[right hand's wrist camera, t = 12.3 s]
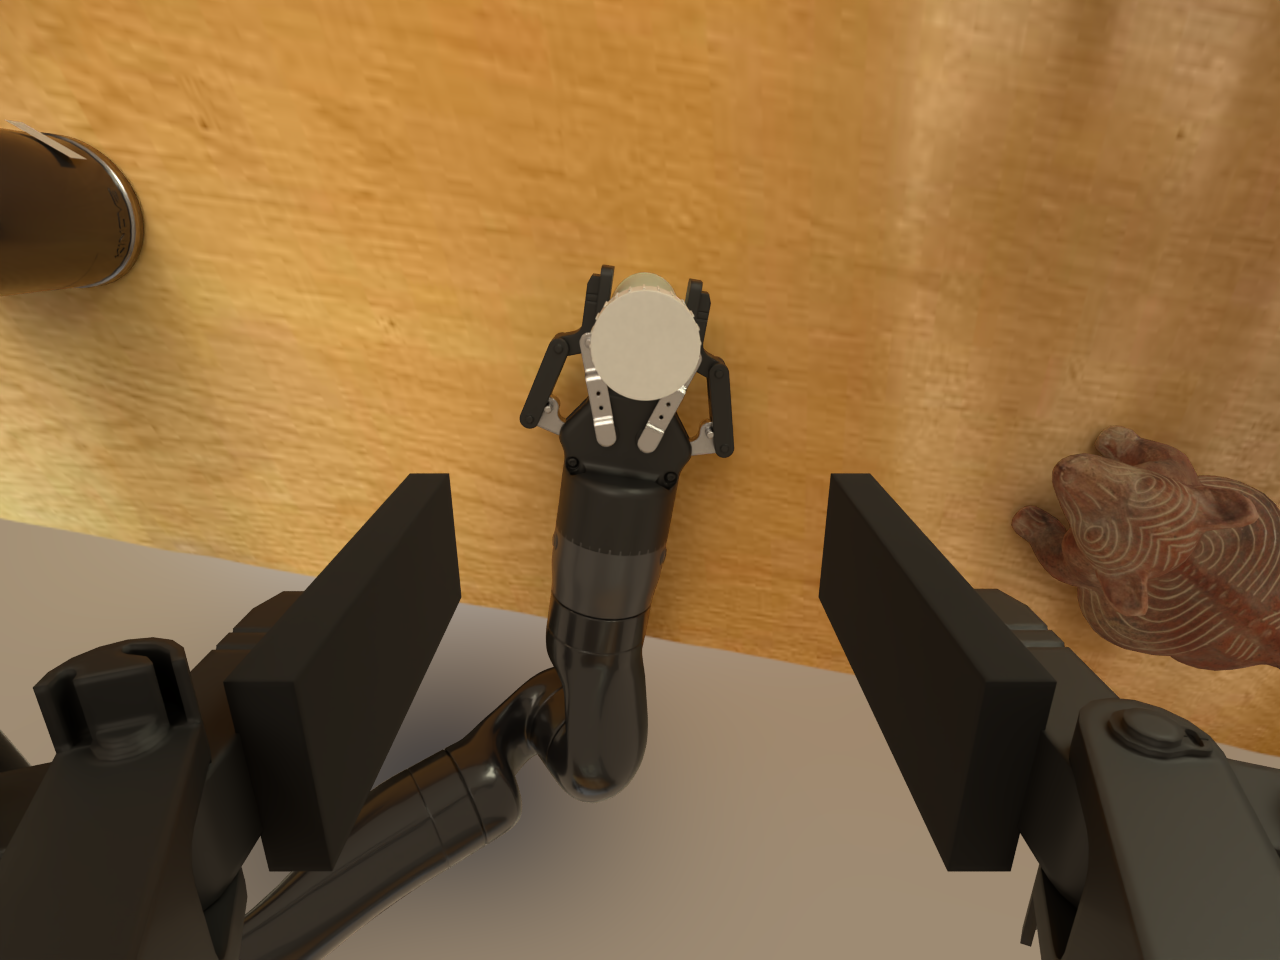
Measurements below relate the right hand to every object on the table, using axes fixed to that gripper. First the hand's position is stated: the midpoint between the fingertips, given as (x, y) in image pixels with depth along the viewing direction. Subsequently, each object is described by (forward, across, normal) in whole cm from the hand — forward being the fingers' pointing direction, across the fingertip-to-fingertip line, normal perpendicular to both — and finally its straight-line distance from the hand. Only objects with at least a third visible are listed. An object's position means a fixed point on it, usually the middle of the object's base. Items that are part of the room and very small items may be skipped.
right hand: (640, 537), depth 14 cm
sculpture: (+37, -34, +15) cm, 53 cm away
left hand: (+31, -1, -3) cm, 31 cm away
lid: (+22, 0, 0) cm, 22 cm away
